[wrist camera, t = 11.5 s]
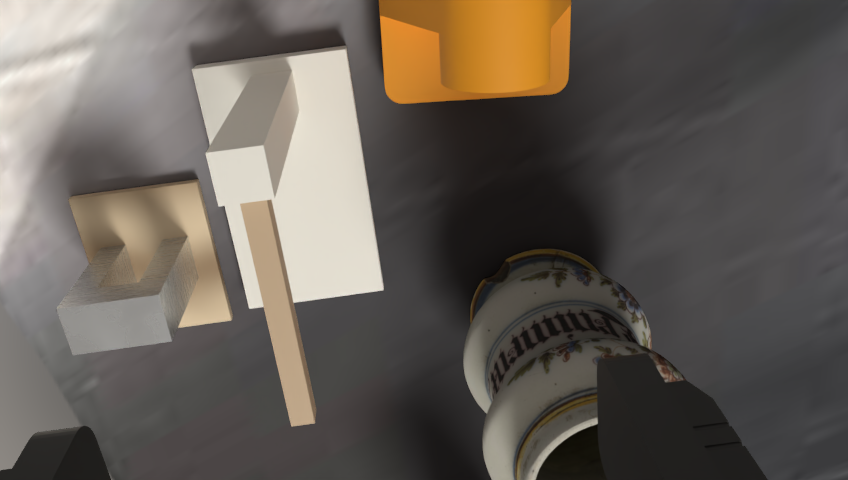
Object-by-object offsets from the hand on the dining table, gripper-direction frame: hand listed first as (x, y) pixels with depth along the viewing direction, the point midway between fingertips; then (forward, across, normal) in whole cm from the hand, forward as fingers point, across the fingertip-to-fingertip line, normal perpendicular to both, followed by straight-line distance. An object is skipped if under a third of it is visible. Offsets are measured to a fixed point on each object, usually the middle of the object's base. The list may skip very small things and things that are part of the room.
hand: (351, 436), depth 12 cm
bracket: (+38, -7, +1) cm, 38 cm away
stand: (+37, +5, +9) cm, 39 cm away
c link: (+36, +15, +13) cm, 42 cm away
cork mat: (+37, +15, +13) cm, 42 cm away
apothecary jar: (+37, -10, +21) cm, 44 cm away
